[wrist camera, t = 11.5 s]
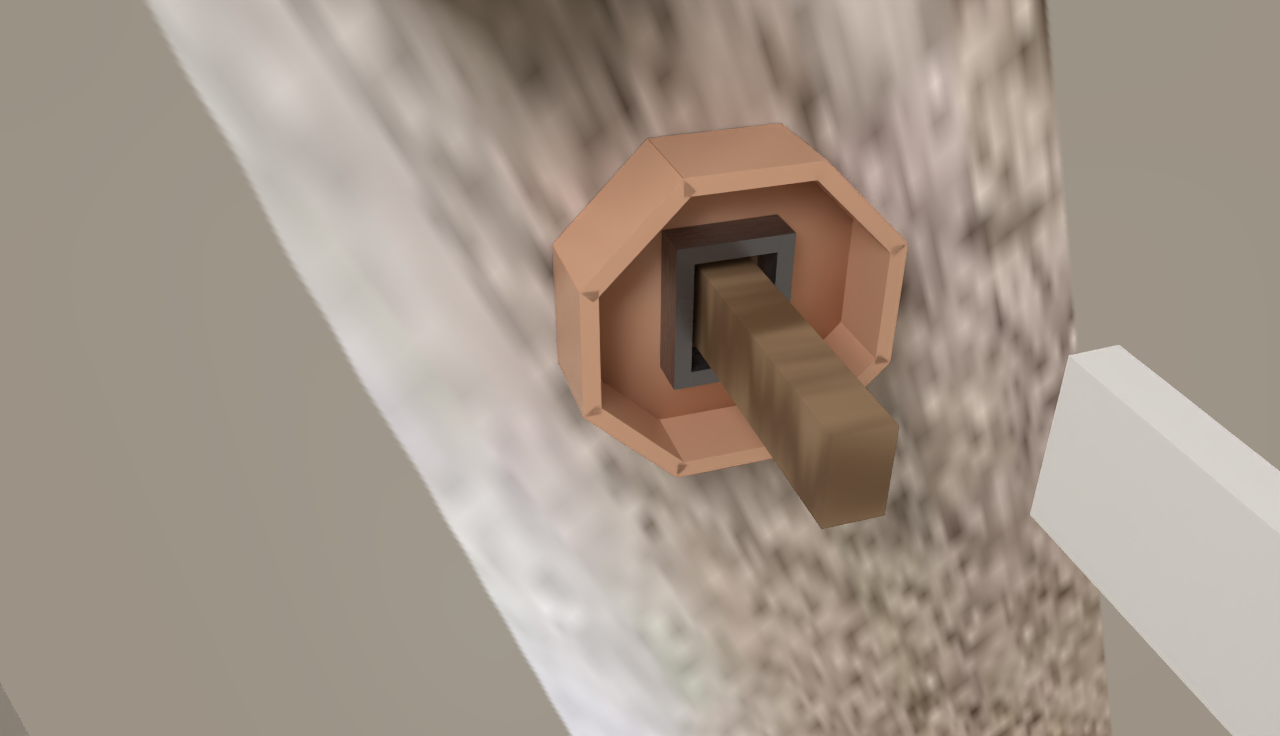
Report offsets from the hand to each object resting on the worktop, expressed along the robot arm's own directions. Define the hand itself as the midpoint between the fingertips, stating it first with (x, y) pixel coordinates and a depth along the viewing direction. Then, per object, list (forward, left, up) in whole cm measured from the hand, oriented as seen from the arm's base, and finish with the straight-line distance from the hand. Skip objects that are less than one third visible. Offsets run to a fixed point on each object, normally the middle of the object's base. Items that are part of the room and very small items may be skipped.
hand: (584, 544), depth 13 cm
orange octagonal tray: (+14, +14, -31) cm, 37 cm away
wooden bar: (+15, +14, -30) cm, 36 cm away
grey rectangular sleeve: (+14, +14, -31) cm, 37 cm away
